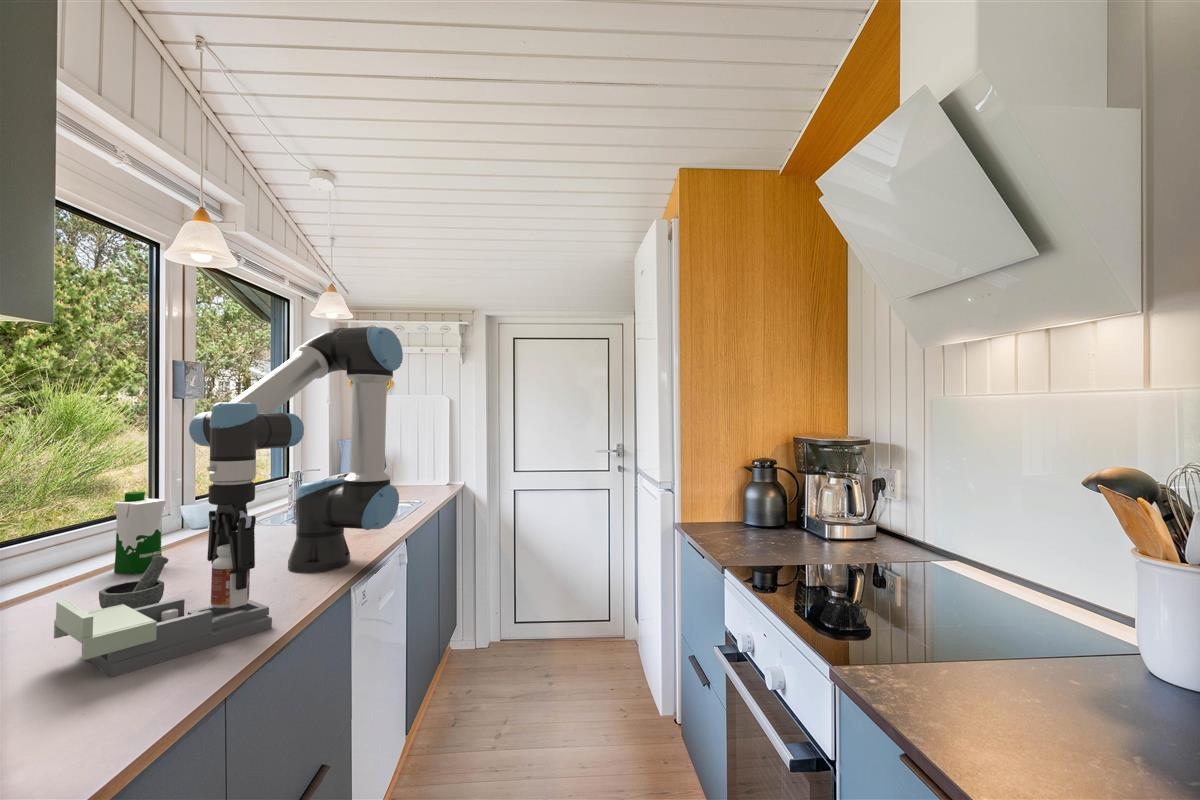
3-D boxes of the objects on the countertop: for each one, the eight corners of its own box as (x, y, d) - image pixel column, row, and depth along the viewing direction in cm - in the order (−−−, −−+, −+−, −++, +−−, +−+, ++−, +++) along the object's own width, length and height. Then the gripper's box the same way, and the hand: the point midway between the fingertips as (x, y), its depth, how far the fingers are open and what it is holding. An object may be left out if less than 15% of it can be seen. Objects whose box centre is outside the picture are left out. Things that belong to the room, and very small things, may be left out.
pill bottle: (226, 611, 103) (227, 551, 103) (202, 607, 105) (204, 548, 105) (256, 600, 109) (257, 543, 109) (234, 596, 111) (235, 541, 111)
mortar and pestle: (118, 634, 103) (120, 569, 103) (85, 628, 106) (88, 564, 106) (181, 614, 114) (183, 555, 114) (149, 608, 117) (151, 551, 117)
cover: (122, 621, 99) (123, 587, 99) (156, 639, 91) (157, 603, 91) (53, 637, 91) (54, 601, 92) (83, 660, 83) (84, 619, 83)
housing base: (238, 612, 114) (239, 583, 115) (274, 627, 107) (274, 596, 107) (81, 655, 94) (82, 619, 94) (111, 677, 86) (112, 638, 87)
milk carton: (142, 564, 150) (145, 490, 151) (169, 566, 148) (171, 491, 149) (107, 573, 142) (109, 494, 142) (134, 576, 139) (137, 496, 140)
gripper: (188, 480, 109) (185, 598, 109) (235, 488, 99) (231, 618, 98) (230, 476, 116) (227, 588, 115) (278, 483, 105) (275, 606, 105)
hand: (229, 602), depth 107 cm, fingers closed on pill bottle, 6 cm apart
